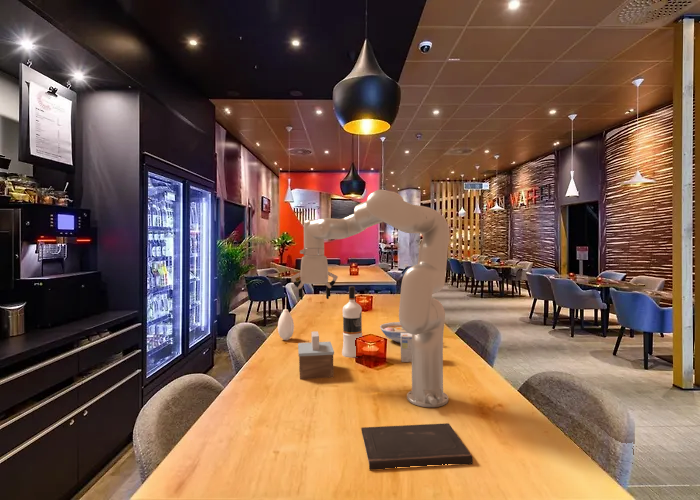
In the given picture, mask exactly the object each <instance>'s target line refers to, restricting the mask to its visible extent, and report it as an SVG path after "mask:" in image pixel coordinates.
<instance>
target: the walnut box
mask: <svg viewBox="0 0 700 500" xmlns="http://www.w3.org/2000/svg"><path fill="white" fill-rule="evenodd" d="M298 366H299V367H298V368H299V369H298V371H299V380H307V379H308V380H309V379H323V378H324V379H325V378H326V379H327V378H328V379H329V378H334V377H335V376H334V355H316V356H299V355H298Z"/></svg>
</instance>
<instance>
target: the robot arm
mask: <svg viewBox="0 0 700 500" xmlns="http://www.w3.org/2000/svg"><path fill="white" fill-rule="evenodd" d="M381 223H385V224H387V225H389V226H391V227H393V228H394V229H396V230H398V231H400V232H402V233H406V234H421V235H422V240H421V242H420V245H419V249H418V261H417V264H415V265H414V264H413V265H412V266H410V267H409V268H407V270H406V271H405V272H404V274H403V277H402V280H401V285H400V286H401V288H400V296H399V308H398V319H399V321H398V322H400V324H401V326H402V328H403V329H404V330H405V331H406V332H408V333H410V334H412V362H411V390H410V391H408V392H407V393H406V399H407V401H408V402H410V403H411V405H416V406H418V407H422V408H423V407H424V408H438V407H442V406H446V405H447V404H448V403H449V395H448V394H447V393H445V392H444V329H445V324H446V323H445V322H446V311H445V308H444V306H443V303H441V302H440V301H439V300H438V299H437V298H435V297H433V295H434V294H437V293H439V292H441V290H442V289H443V288H444V287H445V283H446V273H447V262H448V250H449V241H450V228H449V227H450V226H449V225H448V221H447V220H446V218H445V217H444V215H442V214H441V213H440V212H439V211H437V210H436V209H434V208H431V207H429V206H424V205H417V204H411V203H410V202H407V201H405V200H404V198H403V196H402V195H400V194H399V193H397V192H396V191H393V190H386V189H376V190H375V191H373V192H371V193H370V194H369V195H368V197H367V198H366V201H363V202H360V203H359V204H357V205H356V206H354V210H353V213H352V214H350V215H348V216H345V217H343V218H331V217H330V218H329V217H322V218H319V219H306V220H304V221H303V248H302V249H300V250H299V254H303V256H302V257H301V261H300V271H299V272H298V273H296V274H294V275H292V276H291V277H290V280H291V282H292V283H293V285H294V286H295V287H296V288H297V289H298V298H300V300H301V301H303V300H304V299H303V298H304V297H303V296H304V295H303V291H304V290H303V287H304V285H318V284H319V285H320V284H322V285H323V284H324V285H326V288H325V298H326V299H327V300H329V299H330V297H331V288H332V287H333V285H335V283H336V282H337V279H338V277H339V276H338V275H336V274H334V273H332V272H330V271H329V265H328V258H327V256H326V255H325V240H342V239H343V240H344V239H346V238H350V237H353V236H355V235H358V234H360V233H362V232H363V231H365V230H367V229H368V228H370V227H373V226H375V225H379V224H381ZM329 277H331V278H332V280H331V281H330V282H329ZM298 278H300V283H299V282H298V281H297V280H296V279H298Z"/></svg>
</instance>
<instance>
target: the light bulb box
mask: <svg viewBox="0 0 700 500" xmlns="http://www.w3.org/2000/svg"><path fill="white" fill-rule="evenodd" d="M400 362H401V363H412V334H410V333H401V343H400Z"/></svg>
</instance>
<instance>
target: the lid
mask: <svg viewBox="0 0 700 500" xmlns="http://www.w3.org/2000/svg"><path fill="white" fill-rule="evenodd" d="M297 346H298V348H297V350H298V351H297V352H298V353H297V354H298V357H299V356H316V355H333V356H334V355H335V350H334V348H333V345H332V343H331V341H320V335H319V331H318V330H317V331H311V342H298V343H297Z"/></svg>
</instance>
